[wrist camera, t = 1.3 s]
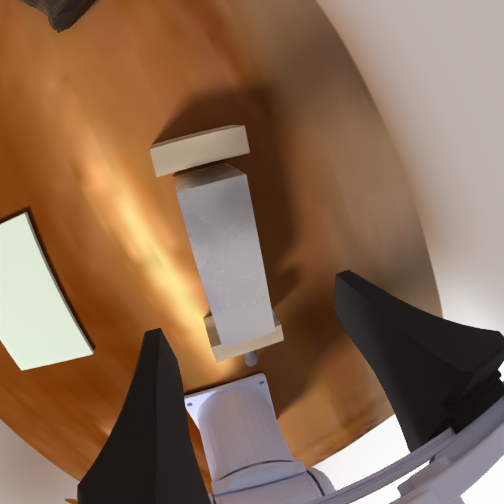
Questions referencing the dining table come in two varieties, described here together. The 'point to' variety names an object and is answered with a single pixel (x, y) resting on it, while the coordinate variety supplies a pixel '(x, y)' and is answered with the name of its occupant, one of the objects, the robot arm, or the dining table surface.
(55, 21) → the hand tool
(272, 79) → the dining table surface
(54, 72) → the dining table surface
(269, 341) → the blocks
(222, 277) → the steel bar
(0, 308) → the mat
